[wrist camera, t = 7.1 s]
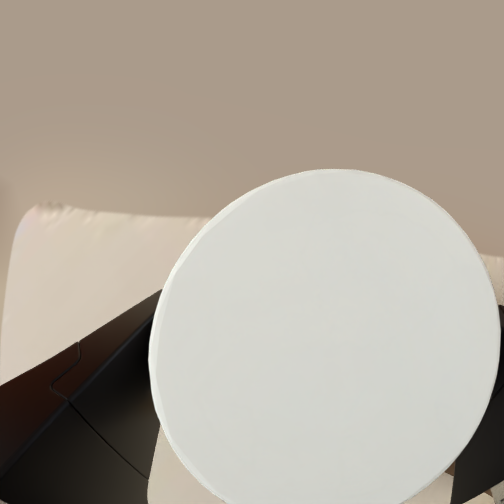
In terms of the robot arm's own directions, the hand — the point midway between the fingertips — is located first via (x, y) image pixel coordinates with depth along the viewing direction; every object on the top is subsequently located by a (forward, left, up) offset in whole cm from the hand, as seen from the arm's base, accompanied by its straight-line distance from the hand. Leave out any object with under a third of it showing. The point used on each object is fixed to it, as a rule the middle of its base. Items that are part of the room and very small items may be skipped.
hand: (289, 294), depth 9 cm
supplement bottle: (-1, +1, -7) cm, 7 cm away
